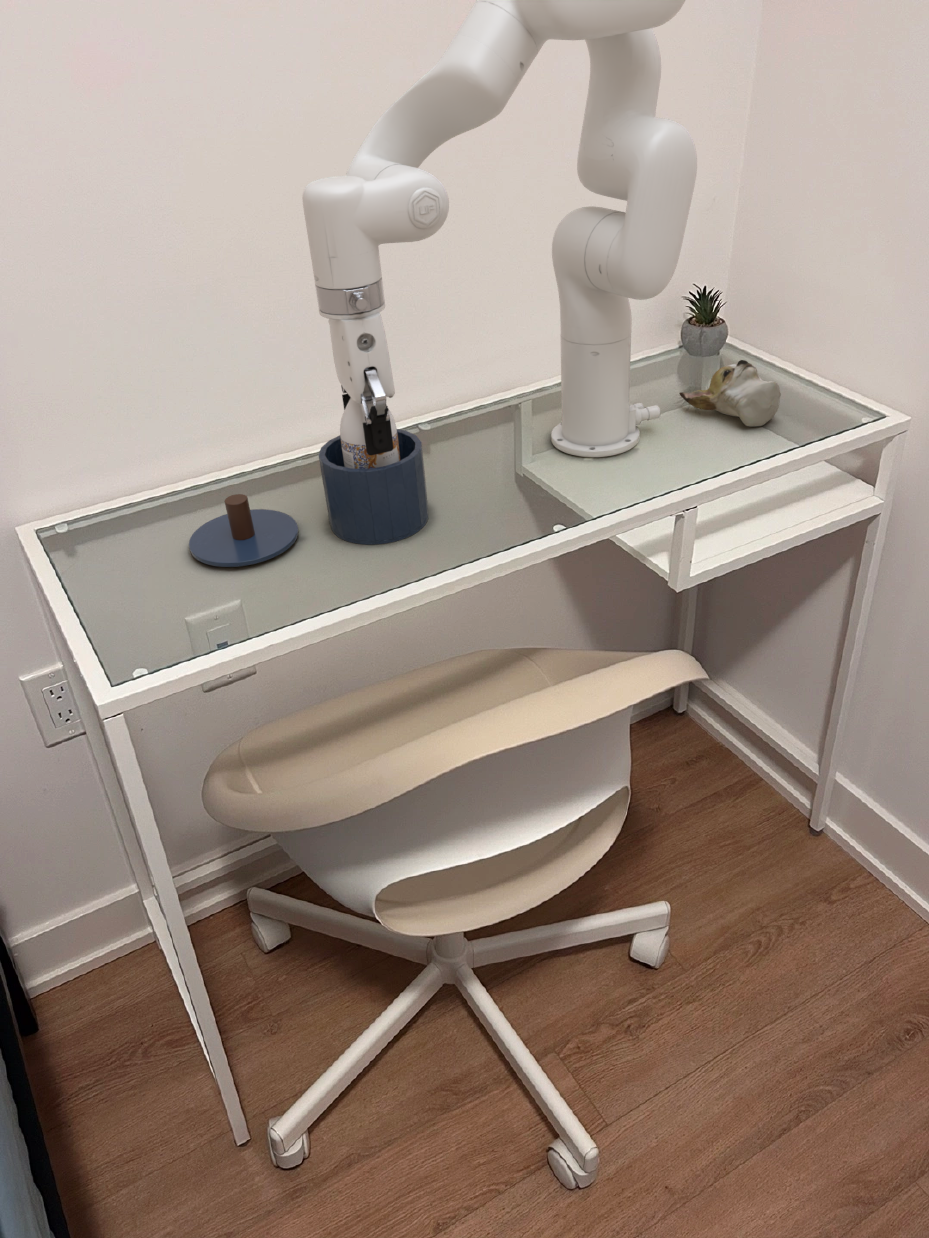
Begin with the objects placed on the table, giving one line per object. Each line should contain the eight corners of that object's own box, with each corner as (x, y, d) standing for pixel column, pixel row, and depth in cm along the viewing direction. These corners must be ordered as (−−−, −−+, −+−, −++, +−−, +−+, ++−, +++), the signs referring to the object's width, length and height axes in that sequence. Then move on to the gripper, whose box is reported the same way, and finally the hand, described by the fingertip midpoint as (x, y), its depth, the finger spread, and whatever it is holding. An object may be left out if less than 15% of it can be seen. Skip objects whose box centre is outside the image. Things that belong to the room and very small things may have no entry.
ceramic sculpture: (747, 379, 137) (676, 356, 148) (743, 440, 141) (675, 412, 153) (805, 362, 141) (732, 341, 152) (800, 422, 145) (730, 396, 157)
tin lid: (287, 508, 134) (279, 466, 130) (309, 555, 123) (301, 510, 119) (184, 531, 130) (173, 488, 127) (198, 581, 120) (186, 536, 116)
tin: (411, 489, 136) (403, 420, 130) (441, 531, 126) (435, 458, 120) (320, 509, 133) (309, 439, 127) (344, 554, 123) (332, 480, 117)
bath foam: (376, 535, 125) (355, 381, 114) (341, 518, 129) (318, 368, 118) (417, 514, 129) (401, 363, 118) (382, 498, 133) (363, 351, 122)
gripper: (404, 311, 107) (420, 458, 117) (362, 273, 121) (379, 407, 131) (336, 324, 106) (357, 471, 115) (301, 283, 119) (323, 418, 129)
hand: (369, 437), depth 123 cm, fingers open, 9 cm apart
